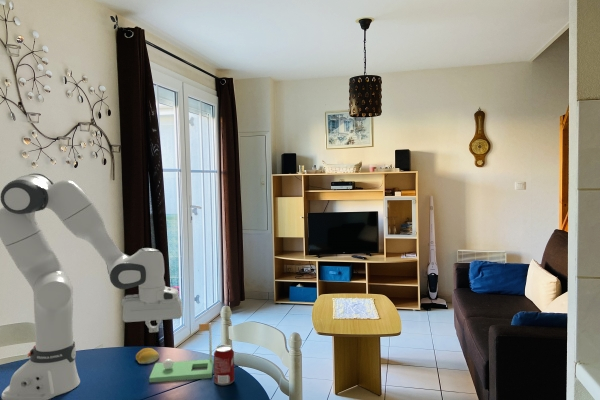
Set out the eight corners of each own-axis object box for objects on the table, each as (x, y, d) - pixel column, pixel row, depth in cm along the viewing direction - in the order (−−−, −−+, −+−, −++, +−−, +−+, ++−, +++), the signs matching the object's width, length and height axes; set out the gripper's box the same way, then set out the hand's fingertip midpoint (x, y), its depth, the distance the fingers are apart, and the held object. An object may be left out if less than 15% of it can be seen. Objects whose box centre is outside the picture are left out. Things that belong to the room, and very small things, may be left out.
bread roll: (140, 366, 161) (140, 356, 161) (133, 358, 169) (133, 348, 168) (162, 361, 166) (162, 350, 166) (155, 353, 174) (154, 343, 173)
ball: (162, 371, 153) (162, 361, 153) (164, 367, 157) (163, 357, 156) (172, 370, 154) (172, 361, 153) (174, 366, 157) (174, 356, 157)
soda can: (230, 387, 144) (229, 352, 144) (211, 385, 146) (210, 351, 145) (237, 378, 151) (236, 344, 150) (218, 376, 152) (218, 343, 152)
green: (149, 382, 148) (148, 337, 148) (155, 367, 160) (154, 326, 159) (211, 377, 152) (210, 334, 151) (213, 363, 163) (212, 322, 163)
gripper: (119, 297, 148) (120, 337, 149) (180, 294, 151) (181, 332, 152) (123, 292, 154) (125, 330, 155) (182, 289, 157) (184, 326, 158)
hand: (153, 331), depth 154 cm, fingers closed
